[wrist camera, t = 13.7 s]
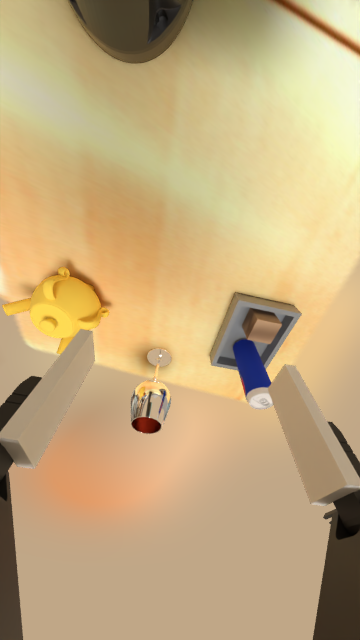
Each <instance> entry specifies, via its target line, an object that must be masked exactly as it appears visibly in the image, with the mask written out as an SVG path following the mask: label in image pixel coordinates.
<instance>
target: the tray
mask: <svg viewBox="0 0 360 640" xmlns="http://www.w3.org/2000/svg"><path fill="white" fill-rule="evenodd" d="M250 308H255V309H259V310H264V311H269V312H273V313H275V315H276V316H277V318H278V319H279V321H280V322H281V323H282V326H281V328H280V329H279V331H278V333H277V334H276V336H275V337H274V339H273V341H272V342H271V344H267V343H262V342H257V341H253V342H254V344H255V346H256V349H257V351H258V353H259V356H260V358H261V360H262V363H263V365H264V367H265V370H266V368H267V367H268V365H269V364H270V362H271V361H272V359H273V357H274V356H275V354H276V353H277V351H278V350H279V348H280V347H281V345H282V344H283V342H284V340H285V339H286V337H287V336H288V334H289V333H290V331H291V330H292V328H293V327H294V325H295V324H296V322H297V320H298V319H299V317H300V316H301V312H300V311H299V310H298V309H297V308H296V307H295V306H294V305H290V304H286V303H281V302H276V301H272V300H267V299H263V298H258V297H254V296H249V295H245V294H240V293H236V292H235V294H234V297H233V299H232V302H231V304H230V307H229V309H228V312H227V314H226V317H225V319H224V321H223V324H222V326H221V329H220V331H219V334H218V336H217V339H216V341H215V344H214V346H213V349H212V351H211V354H210V360H211V365H212V366H217V367H223V368H228V369H233V370H238V367H237V363H236V359H235V356H234V352H233V346H234V344H235V343H236V342H237V341H238V340H241V339H247V338H246V335H245V333H244V330H243V328H242V324H243V322H244V320H245V318H246V315H247V313H248V311H249V309H250ZM251 341H252V340H251Z"/></svg>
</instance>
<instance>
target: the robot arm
mask: <svg viewBox="0 0 360 640" xmlns="http://www.w3.org/2000/svg"><path fill="white" fill-rule="evenodd" d="M192 1H193V0H68V2H69V4H70V6H71V7H72V9H73V11H74V12H75V14H76V16H77V17H78V19H79V20H80V22H81V23H82V25H83V27H84V28H85V30H86V31H87V32H88V34H89V35H90V36H91V38H92V39H93V40H94V41H95V42H96V43H97V44H98V45H99V46H100V47H101V48H102V49H103V50H104V51H105V52H107V53H108V54H110V55H111V56H113V57H115V58H117V59H119V60H122V61H125V62H130V63H141V62H146V61H149V60H151V59H153V58H155V57H157V56H159V55H160V54H161V53H163V52H164V51H165V50H166V49H167V48H168V47H169V46H170V45H171V44H172V42H173V41H174V40H175V38H176V37H177V35H178V34H179V32H180V30H181V29H182V27H183V25H184V23H185V20H186V18H187V16H188V13H189V11H190V8H191V5H192ZM94 361H95V355H94V343H93V332H92V331H89V330H83V329H80V330H79V332H78V333H77V334H76V335H75V337H74V338H73V339H72V341H71V342H70V343H69V344H68V346H67V347H66V348H65V350H64V351H63V352H62V353H61V355H60V356H59V357H58V359H57V360H56V361H55V362H54V364H53V365H52V366H51V368H50V369H49V370H48V371H47V373H46V374H45V375H44V376H43V378H41V377H35V376H31V377H29V378H28V379H27V380H25V381H23V382H22V383H21V384H20V385H19V386H18V387H17V388H16V389H15V390H14V392H13V393H12V395H10V396H9V397H8V398H7V400H6V401H5V403H3V404H2V405H1V407H0V640H23V634H22V623H21V610H20V598H19V586H18V575H17V564H16V551H15V539H14V528H13V516H12V504H11V494H10V481H9V472H8V470H9V468H10V466H11V465H12V463H13V462H14V463H15V464H16V465H17V466H18V467H24V468H32V469H35V468H36V466H37V464H38V462H39V461H40V459H41V457H42V455H43V453H44V452H45V450H46V448H47V446H48V444H49V443H50V441H51V439H52V437H53V435H54V434H55V432H56V430H57V428H58V426H59V425H60V423H61V421H62V419H63V417H64V416H65V414H66V412H67V410H68V408H69V407H70V404H71V403H72V401H73V399H74V398H75V396H76V394H77V392H78V390H79V389H80V387H81V385H82V383H83V381H84V379H85V378H86V376H87V374H88V372H89V371H90V368H91V367H92V365H93V363H94ZM268 391H269V394H270V397H271V399H272V402H273V405H274V407H275V410H276V413H277V415H278V418H279V421H280V423H281V426H282V429H283V431H284V434H285V437H286V439H287V442H288V445H289V447H290V450H291V452H292V455H293V458H294V461H295V464H296V466H297V468H298V471H299V474H300V477H301V480H302V482H303V485H304V488H305V490H306V493H307V496H308V498H309V501H310V504H315V505H323V506H326V505H328V504H330V503H332V502H333V503H334V505H335V507H336V509H335V510H332V511H330V512H328V513H326V514H325V515H324V517H323V518H325V519H328V518H331V517H332V521H331V522H329V523H330V524H331V528H330V534H329V541H328V546H327V553H326V560H325V566H324V572H323V578H322V584H321V591H320V597H319V604H318V610H317V616H316V623H315V629H314V635H313V640H360V462H359V461H358V459H357V458H356V456H355V454H353V451H352V449H351V448H350V446H349V445H348V444H347V441H346V439H345V438H344V436H343V435H342V433H341V432H340V430H339V429H338V428H337V427H336V426H335V425H334V424H333V423H332V422H327V421H326V419H325V417H324V415H323V413H322V412H321V410H320V408H319V407H318V405H317V403H316V401H315V400H314V398H313V396H312V394H311V393H310V391H309V389H308V387H307V386H306V384H305V382H304V380H303V379H302V377H301V375H300V373H299V372H298V370H297V368H296V367H295V366H292V365H286V364H285V365H284V366H283V367H282V369H281V370H280V372H279V373H278V375H277V376H276V377H275V379H274V380H273V382H272V383H271V385H270V386H269V387H268Z"/></svg>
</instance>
